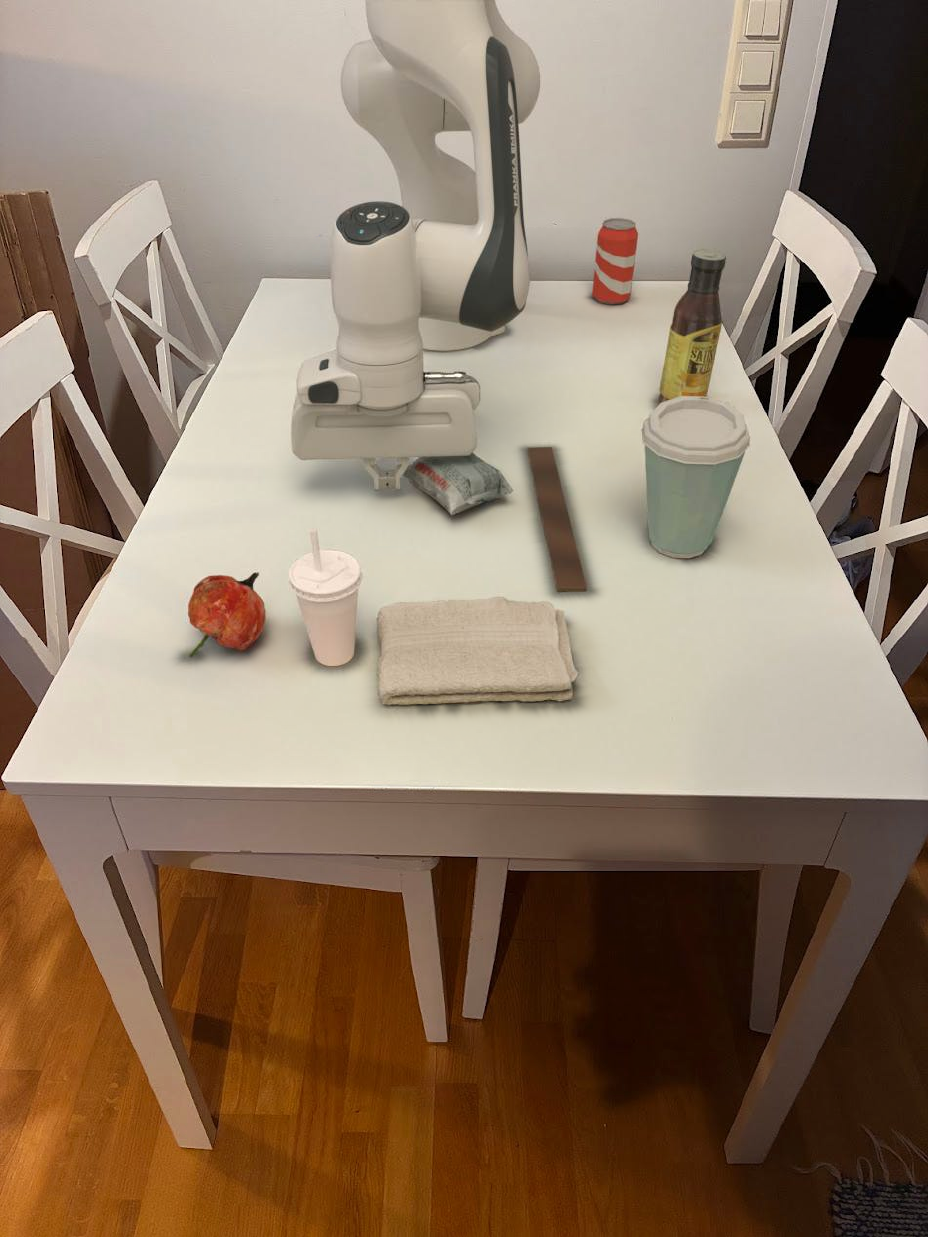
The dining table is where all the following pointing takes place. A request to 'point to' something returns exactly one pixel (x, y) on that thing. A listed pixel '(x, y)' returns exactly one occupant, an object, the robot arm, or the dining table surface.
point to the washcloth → (473, 652)
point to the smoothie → (328, 601)
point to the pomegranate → (227, 611)
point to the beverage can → (615, 261)
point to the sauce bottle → (694, 330)
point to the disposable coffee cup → (690, 470)
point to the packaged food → (457, 480)
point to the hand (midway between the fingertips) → (387, 487)
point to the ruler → (556, 521)
